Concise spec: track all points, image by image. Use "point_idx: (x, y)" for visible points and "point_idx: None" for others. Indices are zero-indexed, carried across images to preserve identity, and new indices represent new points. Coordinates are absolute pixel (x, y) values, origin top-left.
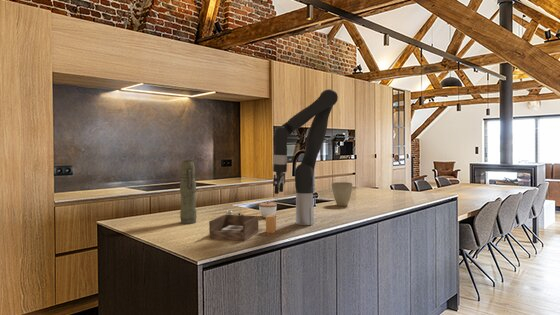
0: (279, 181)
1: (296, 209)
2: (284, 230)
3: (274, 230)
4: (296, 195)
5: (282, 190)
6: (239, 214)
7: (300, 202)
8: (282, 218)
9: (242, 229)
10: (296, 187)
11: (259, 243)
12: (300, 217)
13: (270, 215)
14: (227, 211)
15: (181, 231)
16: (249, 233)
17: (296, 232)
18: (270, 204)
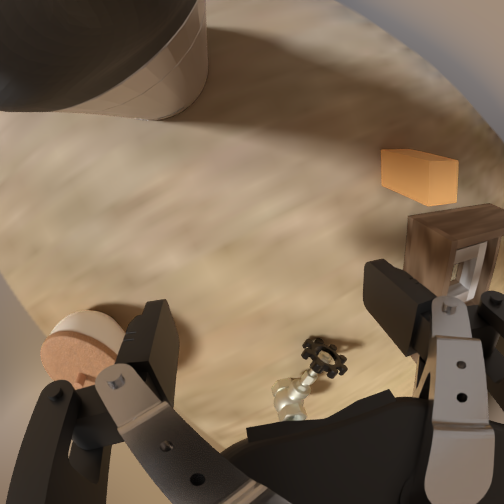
0: (474, 364)
1: (179, 95)
2: (357, 114)
3: (403, 150)
4: (156, 71)
5: (164, 311)
6: (335, 370)
7: (205, 29)
8: (89, 253)
9: (475, 244)
10: (181, 5)
11: (500, 153)
12: (207, 64)
13: (434, 190)
14: (303, 419)
15: (411, 389)
16: (479, 210)
17: (370, 53)
18: (87, 359)
